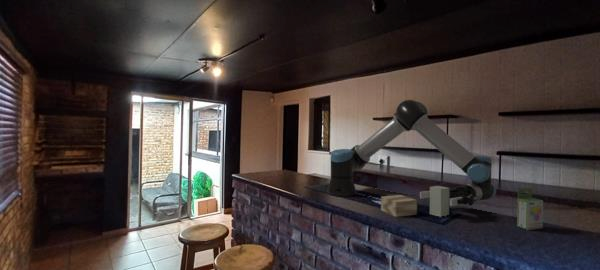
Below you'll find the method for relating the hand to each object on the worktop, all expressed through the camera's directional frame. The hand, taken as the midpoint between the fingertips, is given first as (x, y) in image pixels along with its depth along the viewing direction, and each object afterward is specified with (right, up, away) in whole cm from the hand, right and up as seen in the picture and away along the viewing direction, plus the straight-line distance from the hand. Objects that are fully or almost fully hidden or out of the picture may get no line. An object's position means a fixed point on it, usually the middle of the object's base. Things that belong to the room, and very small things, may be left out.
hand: (434, 198), depth 115 cm
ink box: (+26, -7, -14) cm, 31 cm away
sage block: (+3, -7, +1) cm, 7 cm away
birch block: (-13, -7, +5) cm, 15 cm away
